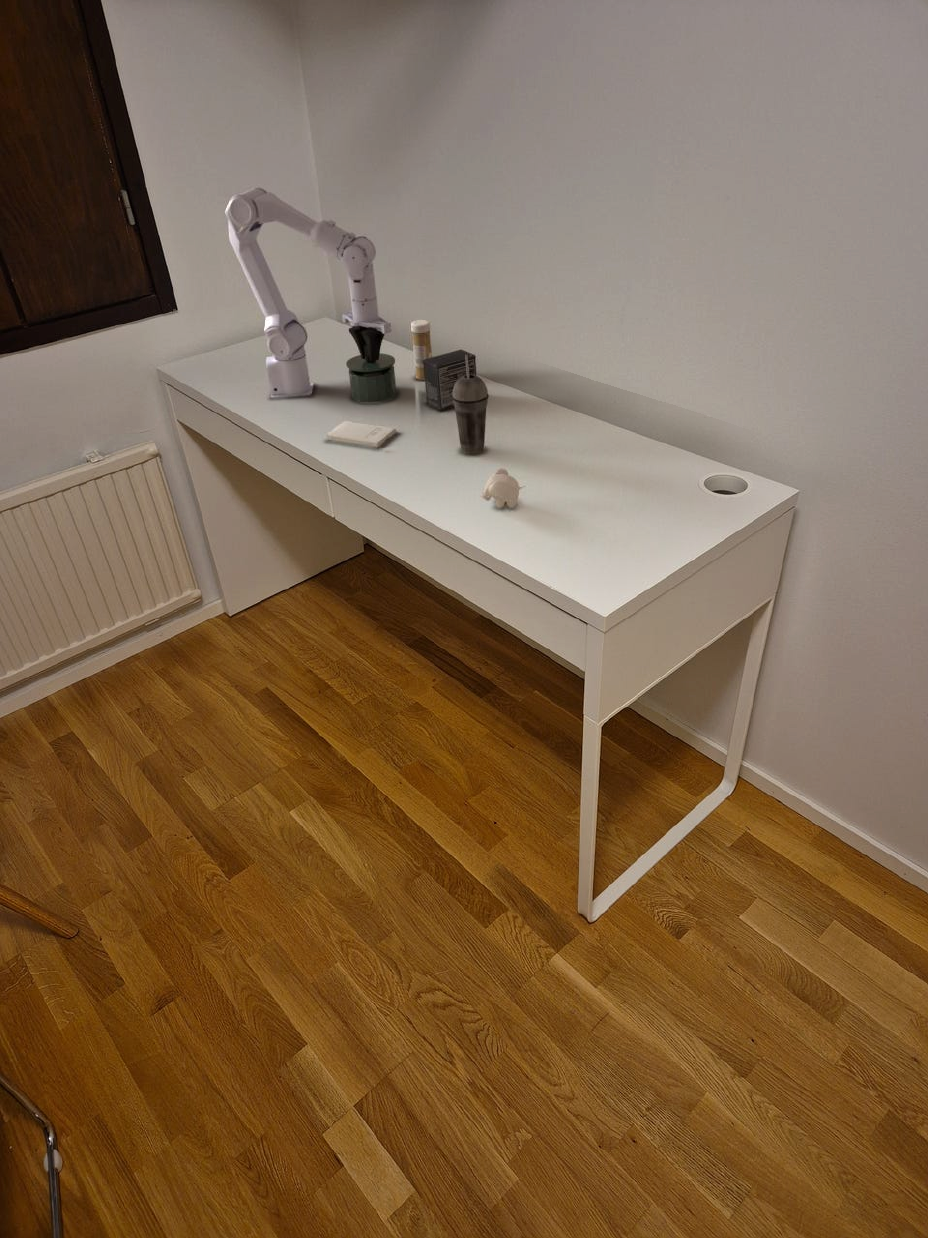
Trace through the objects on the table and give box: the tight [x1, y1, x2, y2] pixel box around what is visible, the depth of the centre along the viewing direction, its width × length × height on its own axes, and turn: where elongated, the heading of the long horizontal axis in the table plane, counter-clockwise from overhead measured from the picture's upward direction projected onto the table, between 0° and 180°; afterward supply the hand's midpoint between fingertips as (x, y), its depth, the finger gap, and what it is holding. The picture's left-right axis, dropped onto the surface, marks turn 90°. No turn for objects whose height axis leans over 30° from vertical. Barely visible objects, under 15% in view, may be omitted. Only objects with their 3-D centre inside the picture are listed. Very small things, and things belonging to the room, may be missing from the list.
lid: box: [346, 343, 396, 372], centre depth 197 cm, size 11×11×5 cm
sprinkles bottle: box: [410, 319, 433, 381], centre depth 207 cm, size 5×5×14 cm
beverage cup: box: [452, 355, 490, 456], centre depth 170 cm, size 7×7×20 cm
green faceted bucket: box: [348, 365, 397, 403], centre depth 201 cm, size 10×10×6 cm
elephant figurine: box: [481, 468, 526, 509], centre depth 154 cm, size 7×8×6 cm
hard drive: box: [325, 420, 397, 450], centre depth 183 cm, size 2×8×12 cm
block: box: [363, 372, 382, 376], centre depth 201 cm, size 4×4×4 cm
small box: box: [423, 349, 477, 412], centre depth 194 cm, size 11×6×10 cm, turn 123°
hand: (370, 358), depth 198 cm, fingers closed on lid, 2 cm apart
